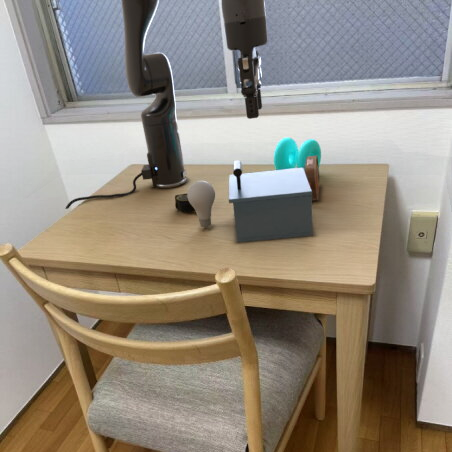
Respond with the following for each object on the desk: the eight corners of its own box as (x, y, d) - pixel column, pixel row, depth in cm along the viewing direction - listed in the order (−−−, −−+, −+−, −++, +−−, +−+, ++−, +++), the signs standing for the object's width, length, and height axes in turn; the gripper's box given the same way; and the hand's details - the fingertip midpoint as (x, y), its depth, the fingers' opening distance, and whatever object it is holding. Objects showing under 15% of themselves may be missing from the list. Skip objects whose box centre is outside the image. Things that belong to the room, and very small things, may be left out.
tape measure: (203, 203, 121) (201, 189, 119) (204, 213, 115) (202, 199, 113) (176, 206, 121) (174, 192, 119) (176, 217, 115) (173, 203, 113)
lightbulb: (223, 222, 110) (217, 176, 104) (214, 234, 105) (207, 186, 99) (198, 221, 112) (191, 176, 106) (188, 233, 107) (180, 186, 101)
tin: (317, 206, 112) (317, 171, 107) (304, 206, 113) (303, 171, 108) (319, 182, 124) (319, 150, 119) (307, 183, 125) (307, 151, 120)
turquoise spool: (290, 168, 136) (289, 132, 130) (322, 171, 131) (322, 134, 125) (272, 180, 130) (270, 143, 124) (305, 184, 124) (305, 146, 119)
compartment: (237, 242, 101) (233, 203, 96) (237, 214, 113) (233, 178, 108) (312, 235, 99) (312, 195, 95) (303, 208, 112) (303, 171, 107)
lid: (229, 203, 96) (226, 177, 93) (229, 178, 108) (227, 154, 105) (311, 195, 95) (311, 168, 92) (302, 170, 107) (302, 146, 104)
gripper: (228, 20, 91) (240, 109, 99) (217, 22, 79) (231, 123, 87) (267, 13, 89) (276, 104, 98) (262, 14, 77) (272, 118, 86)
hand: (255, 113), depth 92 cm, fingers open, 8 cm apart
